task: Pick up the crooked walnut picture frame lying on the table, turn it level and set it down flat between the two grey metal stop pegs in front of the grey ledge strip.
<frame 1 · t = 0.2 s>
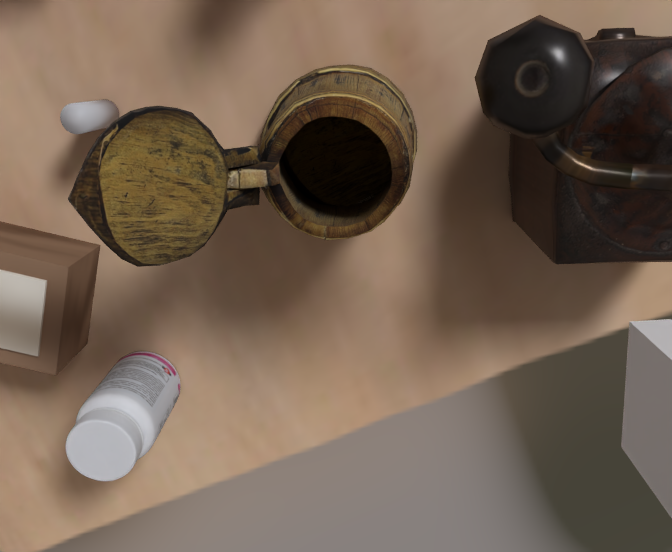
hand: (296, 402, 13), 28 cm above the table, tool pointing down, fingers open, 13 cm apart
dark brown coffee grinder: (556, 131, 38), on the table
wooden mug: (303, 142, 39), on the table
pill bottle: (148, 379, 44), on the table
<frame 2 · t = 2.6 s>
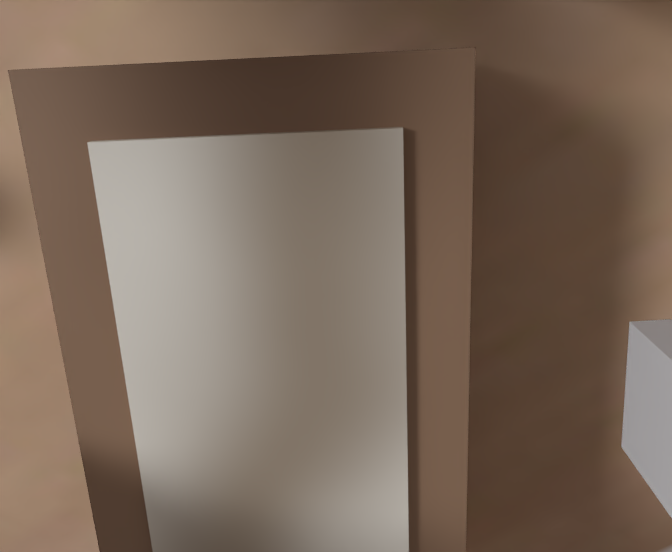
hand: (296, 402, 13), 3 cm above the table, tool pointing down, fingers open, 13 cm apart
frame: (293, 332, 16), on the table
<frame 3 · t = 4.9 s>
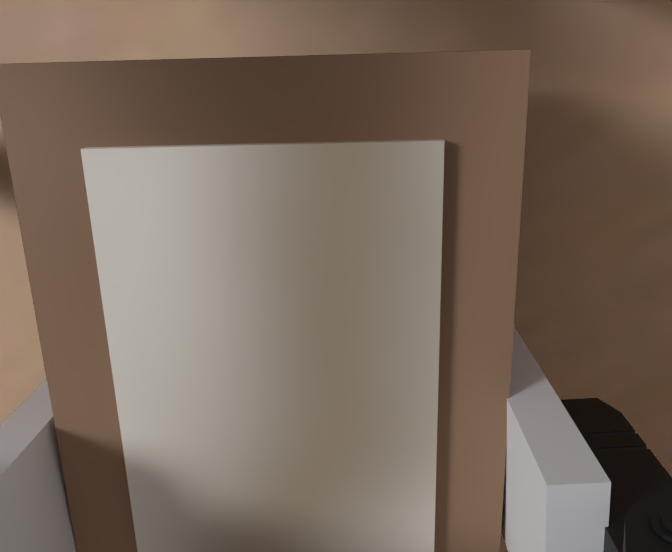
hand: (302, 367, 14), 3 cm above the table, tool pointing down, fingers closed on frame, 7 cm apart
frame: (304, 356, 15), point 3 cm above the table, touching gripper
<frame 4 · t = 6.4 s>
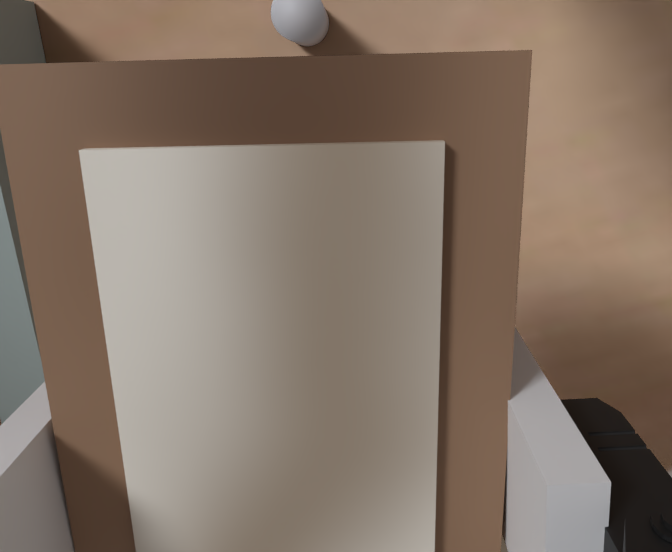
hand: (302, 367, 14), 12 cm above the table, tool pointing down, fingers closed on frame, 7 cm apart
frame: (304, 357, 15), point 12 cm above the table, touching gripper
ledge: (60, 251, 27), on the table
when the fingers open (0 cm above the table, at t = 8.0 s): frame stays where it is, on the table.
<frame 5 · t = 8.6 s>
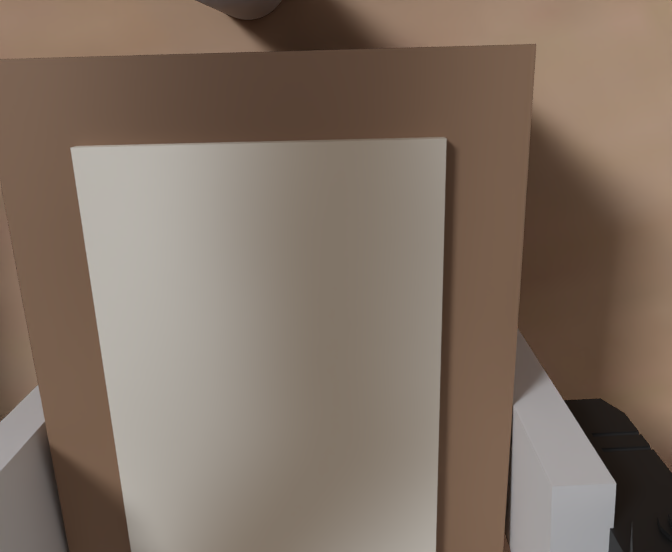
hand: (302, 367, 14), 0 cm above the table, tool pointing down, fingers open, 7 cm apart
frame: (302, 356, 15), on the table
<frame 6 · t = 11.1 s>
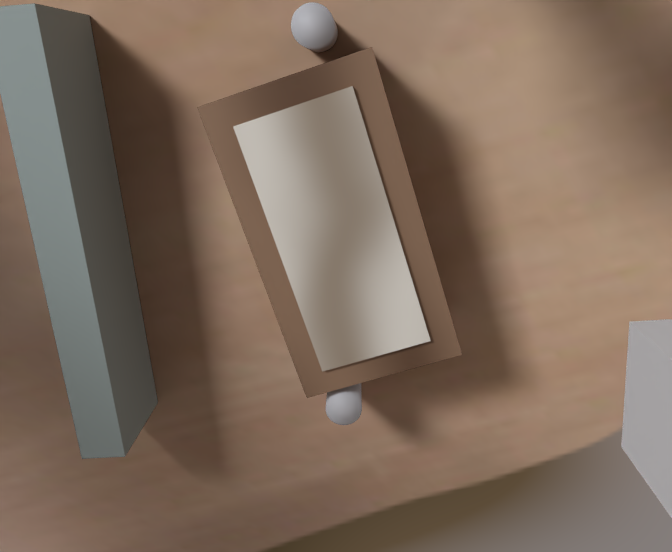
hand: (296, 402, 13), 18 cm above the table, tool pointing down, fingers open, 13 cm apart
frame: (340, 211, 31), on the table
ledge: (106, 227, 31), on the table
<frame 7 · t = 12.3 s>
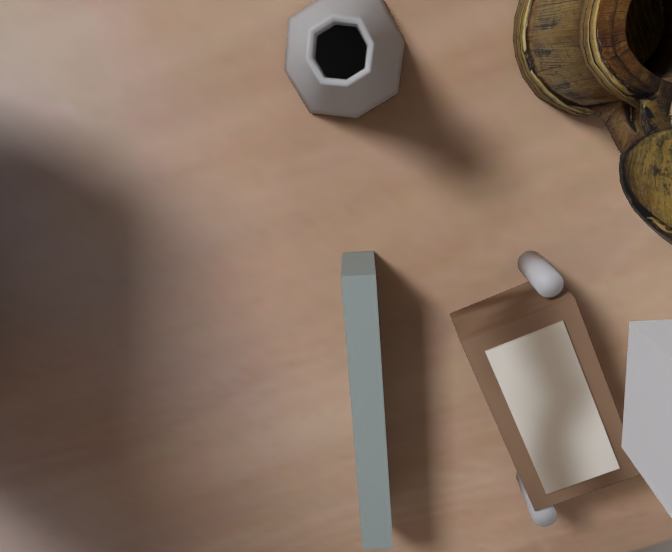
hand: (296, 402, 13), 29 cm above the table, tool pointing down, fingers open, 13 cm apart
frame: (532, 373, 44), on the table
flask: (344, 56, 38), on the table
wooden mug: (582, 72, 38), on the table
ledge: (367, 384, 44), on the table
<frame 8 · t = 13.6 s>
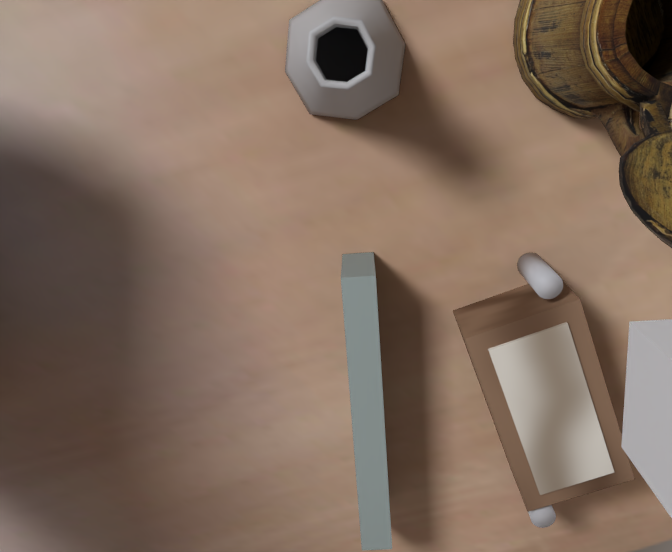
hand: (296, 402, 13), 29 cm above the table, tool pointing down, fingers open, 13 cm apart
frame: (531, 374, 44), on the table
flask: (344, 58, 38), on the table
wooden mug: (582, 74, 38), on the table
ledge: (367, 385, 45), on the table
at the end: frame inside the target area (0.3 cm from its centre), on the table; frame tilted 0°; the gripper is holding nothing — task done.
